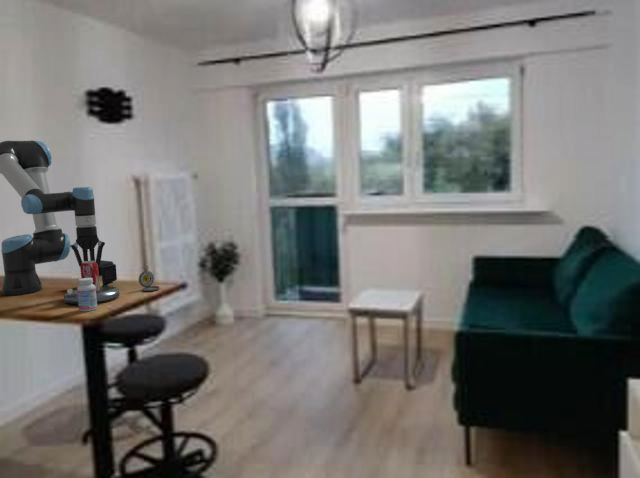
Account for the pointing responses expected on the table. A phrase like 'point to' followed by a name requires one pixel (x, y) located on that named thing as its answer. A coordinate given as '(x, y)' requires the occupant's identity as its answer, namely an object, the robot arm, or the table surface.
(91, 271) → the beverage can
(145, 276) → the pocket watch
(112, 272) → the camera
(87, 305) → the pill bottle
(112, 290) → the turntable
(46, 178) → the robot arm
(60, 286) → the table surface
